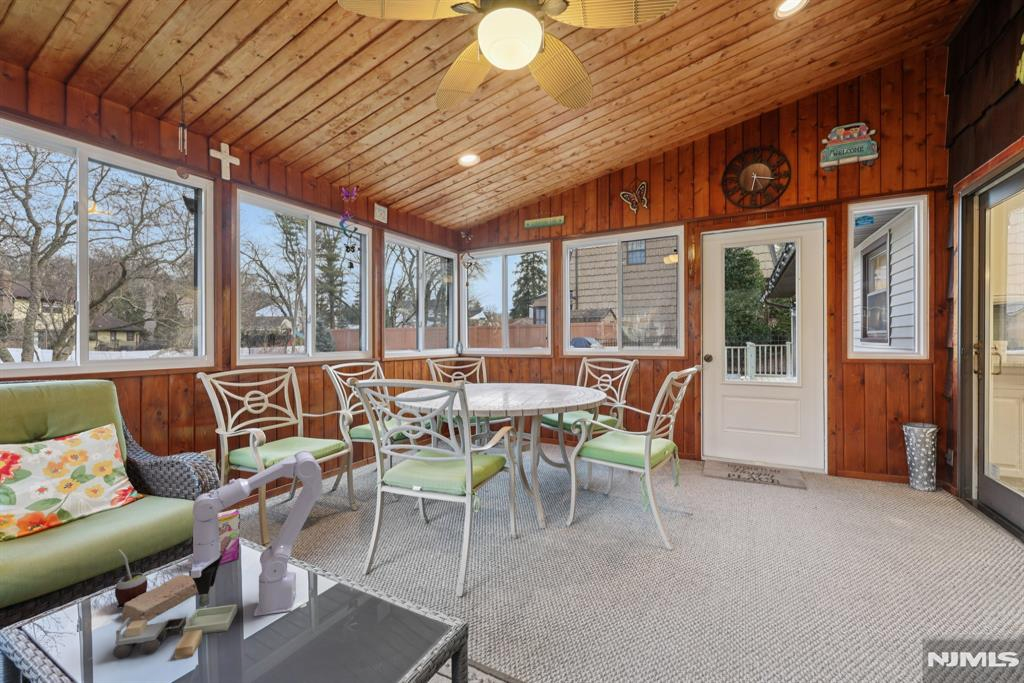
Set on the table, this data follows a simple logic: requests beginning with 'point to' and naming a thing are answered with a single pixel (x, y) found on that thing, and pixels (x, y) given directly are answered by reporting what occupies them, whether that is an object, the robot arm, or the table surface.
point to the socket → (175, 622)
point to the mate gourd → (129, 585)
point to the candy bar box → (229, 535)
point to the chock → (188, 644)
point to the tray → (211, 619)
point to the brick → (160, 599)
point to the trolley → (138, 637)
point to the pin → (203, 600)
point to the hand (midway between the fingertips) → (206, 589)
